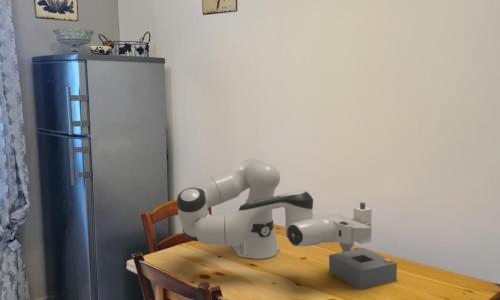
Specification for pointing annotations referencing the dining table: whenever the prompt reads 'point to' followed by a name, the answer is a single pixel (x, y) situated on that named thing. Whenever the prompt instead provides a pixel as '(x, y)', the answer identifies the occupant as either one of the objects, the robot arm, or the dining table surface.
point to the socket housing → (362, 268)
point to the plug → (363, 218)
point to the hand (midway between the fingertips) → (364, 222)
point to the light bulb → (346, 246)
